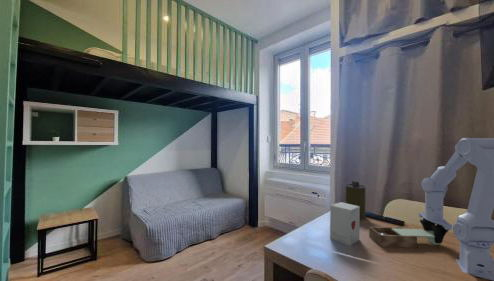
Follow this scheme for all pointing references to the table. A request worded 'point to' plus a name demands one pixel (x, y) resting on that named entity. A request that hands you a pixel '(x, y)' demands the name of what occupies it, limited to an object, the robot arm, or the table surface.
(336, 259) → the table surface
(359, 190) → the canister
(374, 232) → the tub
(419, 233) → the lid
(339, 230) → the supplement box
